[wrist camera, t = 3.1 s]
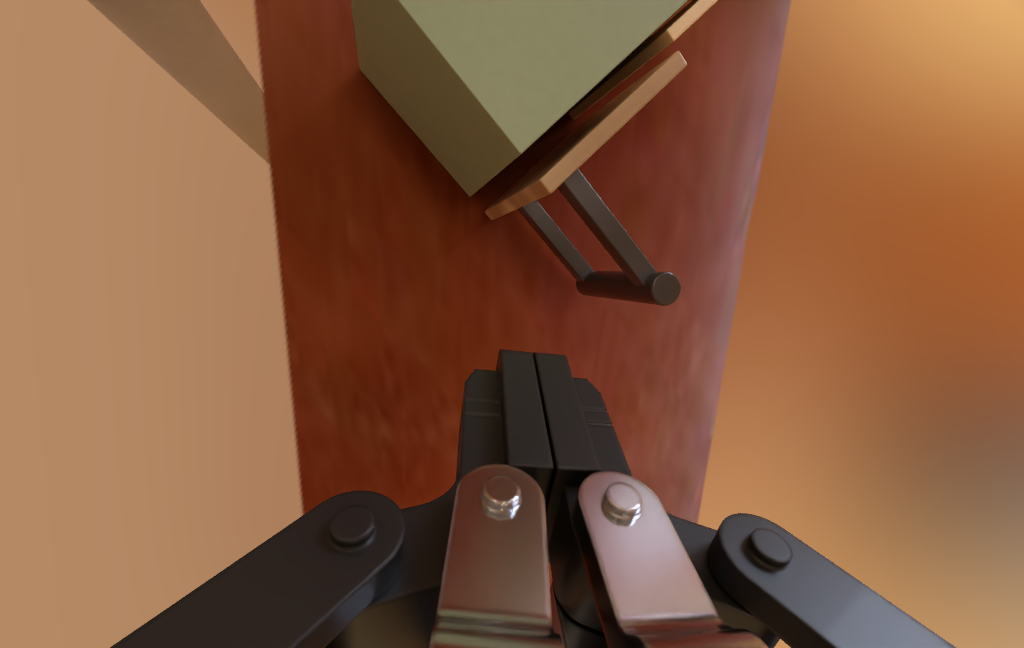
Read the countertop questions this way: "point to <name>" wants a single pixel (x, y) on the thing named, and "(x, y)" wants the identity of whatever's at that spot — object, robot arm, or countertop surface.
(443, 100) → the cabinet
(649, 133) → the countertop surface
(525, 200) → the brown panel dark handle
